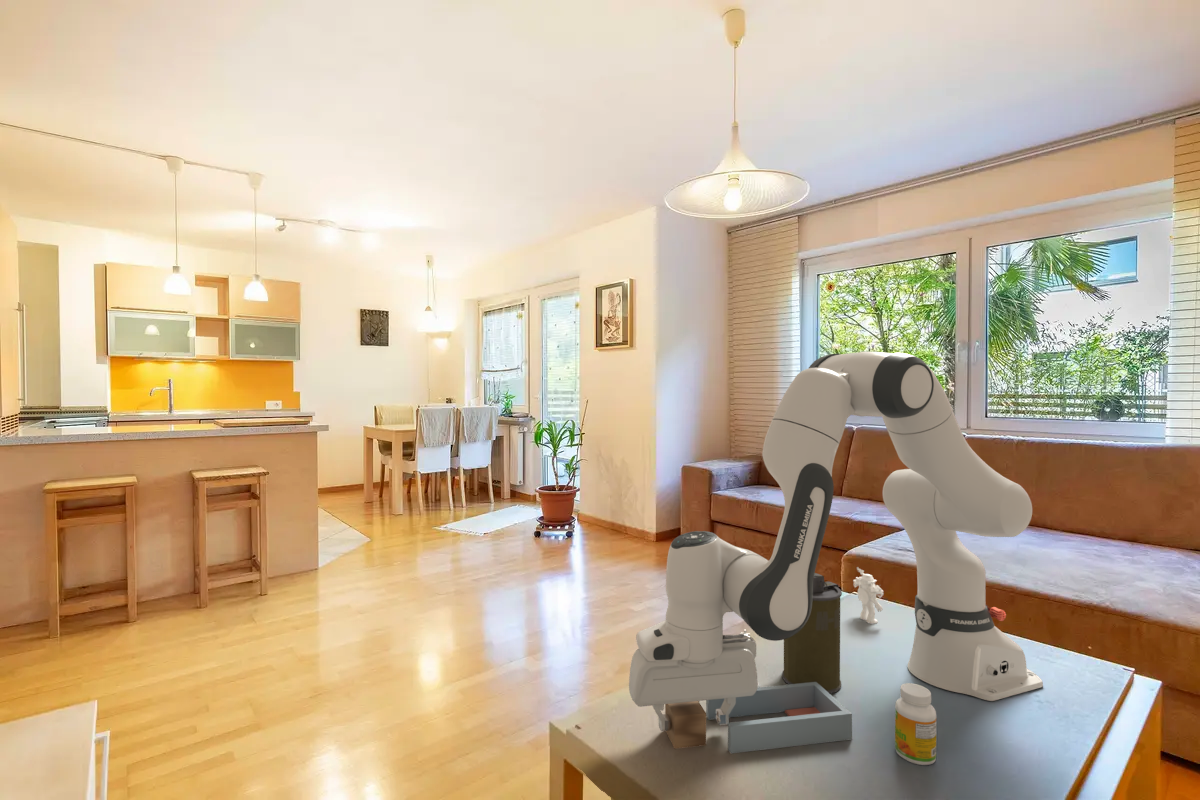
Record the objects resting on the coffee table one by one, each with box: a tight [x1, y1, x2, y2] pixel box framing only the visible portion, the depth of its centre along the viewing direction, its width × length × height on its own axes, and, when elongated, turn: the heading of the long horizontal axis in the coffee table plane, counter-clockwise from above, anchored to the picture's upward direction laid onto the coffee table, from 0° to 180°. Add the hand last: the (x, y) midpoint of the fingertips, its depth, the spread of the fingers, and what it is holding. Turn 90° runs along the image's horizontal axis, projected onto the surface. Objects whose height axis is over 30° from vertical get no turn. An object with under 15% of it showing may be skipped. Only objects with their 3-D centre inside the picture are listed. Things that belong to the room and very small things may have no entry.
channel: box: [705, 682, 853, 754], centre depth 91 cm, size 20×10×4 cm, turn 100°
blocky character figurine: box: [852, 566, 885, 625], centre depth 135 cm, size 9×4×12 cm, turn 10°
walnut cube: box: [664, 701, 707, 750], centre depth 88 cm, size 5×5×5 cm
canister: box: [781, 572, 843, 695], centre depth 106 cm, size 11×10×20 cm
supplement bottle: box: [894, 682, 937, 766], centre depth 84 cm, size 5×5×10 cm
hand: (693, 725), depth 88 cm, fingers open, 8 cm apart
